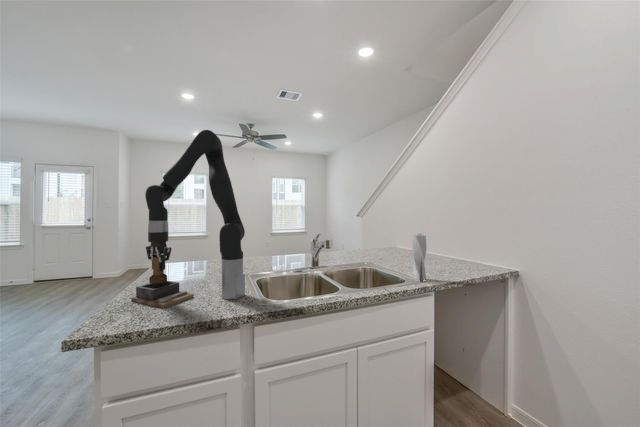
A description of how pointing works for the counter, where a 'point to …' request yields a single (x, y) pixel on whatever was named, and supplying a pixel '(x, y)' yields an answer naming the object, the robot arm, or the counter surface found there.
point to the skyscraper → (419, 256)
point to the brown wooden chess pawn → (157, 271)
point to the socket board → (160, 294)
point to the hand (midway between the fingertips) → (158, 269)
